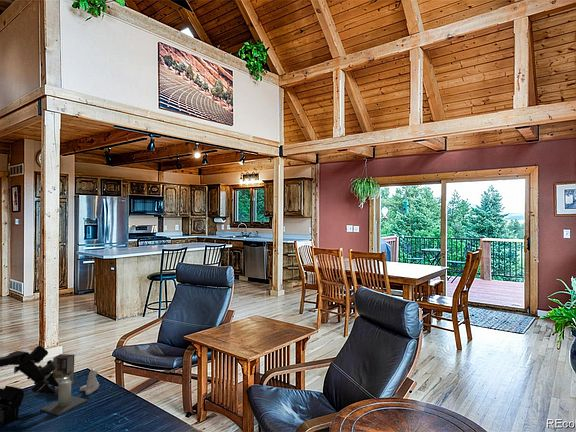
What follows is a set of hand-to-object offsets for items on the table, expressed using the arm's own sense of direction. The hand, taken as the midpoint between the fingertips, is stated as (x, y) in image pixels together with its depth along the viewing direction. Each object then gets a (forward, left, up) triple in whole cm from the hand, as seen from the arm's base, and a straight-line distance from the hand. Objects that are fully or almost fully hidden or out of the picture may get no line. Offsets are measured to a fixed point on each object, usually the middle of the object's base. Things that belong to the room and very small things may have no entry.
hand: (56, 389), depth 185 cm
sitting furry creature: (+21, +1, -9) cm, 23 cm away
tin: (+13, +13, -9) cm, 20 cm away
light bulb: (+3, -2, -8) cm, 9 cm away
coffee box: (+21, +23, -9) cm, 32 cm away
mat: (+3, -2, -9) cm, 10 cm away
